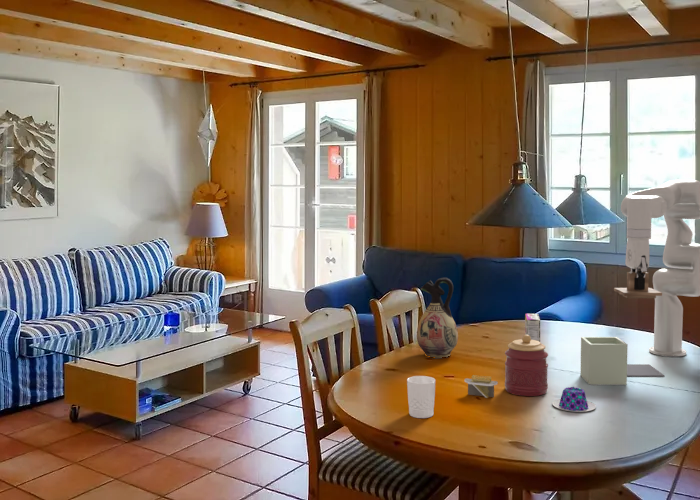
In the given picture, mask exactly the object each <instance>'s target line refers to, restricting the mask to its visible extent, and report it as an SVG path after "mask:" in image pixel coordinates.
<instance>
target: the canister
mask: <svg viewBox="0 0 700 500" xmlns="http://www.w3.org/2000/svg"><path fill="white" fill-rule="evenodd" d="M507 347H508V349H507V350H505V351H504V354H505V356H506V360H505V362H504V365H505V366H504V367H505V369H504V370H505V372H504V373H505V375H504V379H505V380H504V388H505V391H506V392H507V393H509V394H513V395H516V396H520V397H521V396H522V397H524V396H525V397H537V396H542V395H545V394H546V393H547V391H548V388H549V383H548V367H549V363H547V358H548V356H549V353H548V352H547V351H545V349H546V345H545V344H543V343H541V341H540V342H539V341H536V340H531V337H530V336H529V335H525V334H524V335H522V338H521V339H515V340H513V341H512V342H510V343H508V344H507Z"/></svg>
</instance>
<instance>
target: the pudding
mask: <svg viewBox="0 0 700 500" xmlns="http://www.w3.org/2000/svg"><path fill="white" fill-rule="evenodd" d="M561 392H562V393H561V396H560V398H558V399H555V400H553V401H552V403H551V404H552V406H554V407H555V408H557V409H559V410H563V411H568V412H575V413H583V412H590V411H593V410H595V409H596V408H597V406H596V404H594V403H593V402H591V401H589V400H587V396H586V392H585V390H584V389H582V388H580V387H574V386H573V387H572V386H570V387H569V386H567V387H565V388H564V389H563V390H562V391H561Z"/></svg>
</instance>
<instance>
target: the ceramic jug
mask: <svg viewBox="0 0 700 500" xmlns="http://www.w3.org/2000/svg"><path fill="white" fill-rule="evenodd" d="M441 284H446V285H447V286H448V292H447V296H446V299H445V301H444V302H443V299H442V297H441V296H444V295H445V290H444V289H443V288H442V287H441V286H440V285H441ZM420 291H422V292H425V293H428V294H429V295H430V296H431V302H430V303H429V304H428V306H427V307H426V309H425V310H424V311H423V314H422V315H421V317H420V319H419V322H418V325H417V330H416V340H417V341H416V342H417V344H418V346H419V347H420V349H421V350H422V351H423V352H424V355H425V354H426V355H427V356H430V357H435V358H434V359H443V358H442V357H446V358H449V357H448V356H450V355H451V353H452V351H453V350H454V349H455V347H456V346H457V345H458V340H459V333H458V328H457V324H456V321H455V320H454V318H453V316H452V312H451V309H450V303H451V299H452V297H453V294H454V293H453V292H454V284H453V282H452V280H451V279H450V278H448V277H440V278H437V279H436V281H435V282H434V283H433V281H432V280H431V279H430V280H428V281H427V282H425V284H424V285H423V286H422V287H421V288H420ZM450 357H451V356H450Z"/></svg>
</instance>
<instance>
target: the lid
mask: <svg viewBox="0 0 700 500" xmlns="http://www.w3.org/2000/svg"><path fill="white" fill-rule="evenodd" d="M638 273H639V272H638ZM649 274H650V273H649V272H646V273H645V289H644V290H635V289H634V280H635V278H636V272H631V271H627V272H626V287H614V288H613V291H614V292H616V293H618V295H620V296H622V297H624V298H626V299H655V298H656V296H662V293H661V292H659V291H657V290H654V288H652V287H649V280H650V279H649V277H650V275H649Z"/></svg>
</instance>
